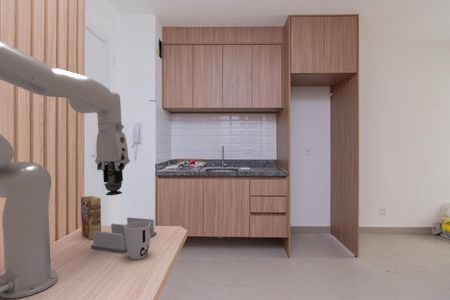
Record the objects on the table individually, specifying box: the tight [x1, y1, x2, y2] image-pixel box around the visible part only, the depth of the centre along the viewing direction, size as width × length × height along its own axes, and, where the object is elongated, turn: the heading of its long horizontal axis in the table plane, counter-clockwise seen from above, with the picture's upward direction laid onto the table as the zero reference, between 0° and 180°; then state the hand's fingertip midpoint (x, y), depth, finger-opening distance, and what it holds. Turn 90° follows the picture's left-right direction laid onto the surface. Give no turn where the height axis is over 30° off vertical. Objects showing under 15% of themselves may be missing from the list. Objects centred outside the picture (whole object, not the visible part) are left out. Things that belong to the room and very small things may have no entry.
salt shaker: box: [103, 162, 123, 196], centre depth 94 cm, size 6×6×12 cm
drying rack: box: [90, 216, 157, 254], centre depth 100 cm, size 18×14×6 cm
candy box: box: [80, 195, 102, 241], centre depth 106 cm, size 9×4×15 cm, turn 49°
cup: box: [124, 221, 151, 260], centre depth 86 cm, size 8×8×10 cm
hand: (113, 181), depth 94 cm, fingers closed on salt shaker, 4 cm apart
